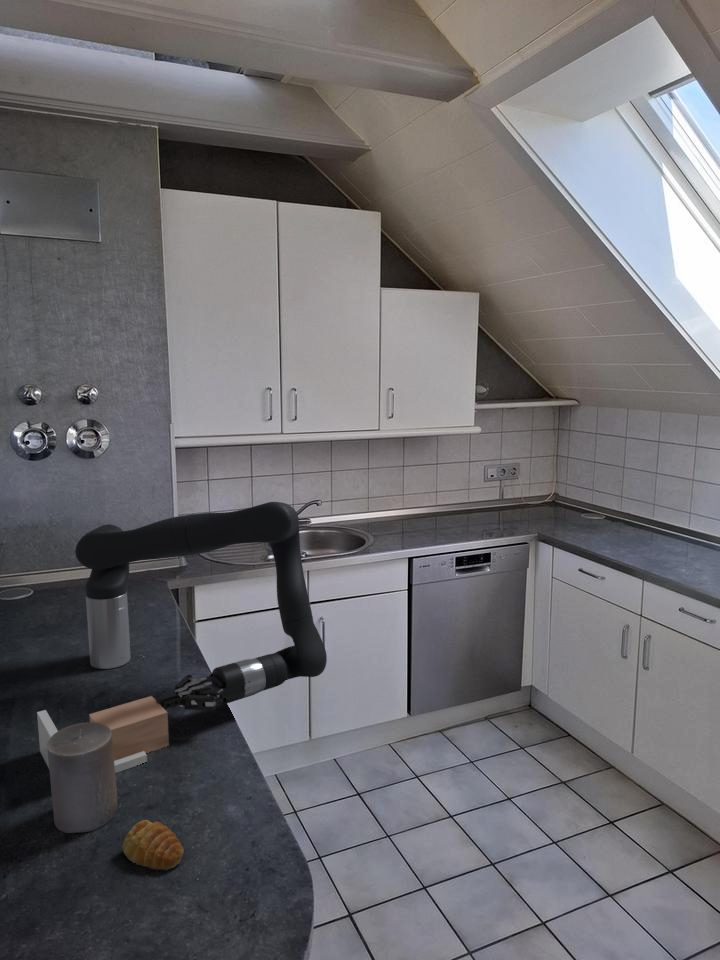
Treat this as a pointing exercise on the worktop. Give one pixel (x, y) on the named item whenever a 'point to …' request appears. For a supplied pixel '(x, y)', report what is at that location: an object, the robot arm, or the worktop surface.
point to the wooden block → (135, 726)
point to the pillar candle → (82, 777)
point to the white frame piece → (49, 729)
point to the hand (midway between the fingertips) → (158, 704)
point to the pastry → (152, 845)
